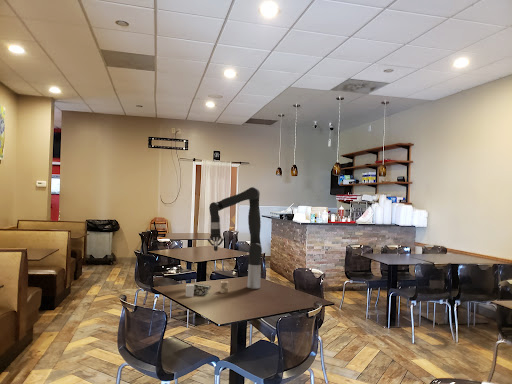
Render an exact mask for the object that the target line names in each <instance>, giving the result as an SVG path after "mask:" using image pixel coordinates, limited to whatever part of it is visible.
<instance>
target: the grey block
mask: <svg viewBox="0 0 512 384" xmlns="http://www.w3.org/2000/svg"><path fill="white" fill-rule="evenodd" d="M194 284H195V283H187V284H186V286H185V297H188V298H189V297H191V298H194V294H195V292H194Z"/></svg>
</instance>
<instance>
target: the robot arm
mask: <svg viewBox="0 0 512 384" xmlns="http://www.w3.org/2000/svg"><path fill="white" fill-rule="evenodd" d="M260 193H261V192H260V190H259V189H258V188H257V187H254V186H251V187H249V188H247V189H246V190H244V191H242V192H240V193H237V194H233V195H231V196H229V197H225V198H223V199H222V200H220V201H215V202H211V203H210V204H209V207H208V209H209V215H210V225H209V227H210V236H209V237H208V238H207V242H208V244H209V243H210V245H211V246H213V251H214V252H217V251H218V250H219V249H218V248H219V246H220V245H221V244H222V243H223V241H224V238H223V237H222V236H221V217H220V213H219V211H222V210H224V209H226V208H227V209H228V208H230V207H232V206H235V205H237V204H239V203H242V202H244V201H249V203H248V204H249V209H248V215H247V216H248V217H247V218H248V219H247V221H248V232H249V237H250V238H249V239H250V242H249V250H248V252H249V253H248V268H247V270H248V271H247V288H248V289H251V290H252V289H253V290H255V289H257V290H258V289H261V281H262V280H261V277H262V275H261V267H262V253H263V252H262V251H263V248H262V247H263V246H262V244H261V243H262V242H261V227H262V226H261V222H262V221H261V211H260Z"/></svg>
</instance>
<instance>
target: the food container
mask: <svg viewBox="0 0 512 384" xmlns="http://www.w3.org/2000/svg"><path fill="white" fill-rule="evenodd" d="M193 284H194V294H196V295H197V296H198V295H199V296H204V295H206V294H207V293H208V291H210V290H211V287H212V285H208V284H202V283H193Z"/></svg>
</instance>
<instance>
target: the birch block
mask: <svg viewBox="0 0 512 384" xmlns="http://www.w3.org/2000/svg"><path fill="white" fill-rule="evenodd" d="M219 291H220V293H221V294H228V293H229V281H227V280H221V281H220V288H219Z"/></svg>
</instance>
